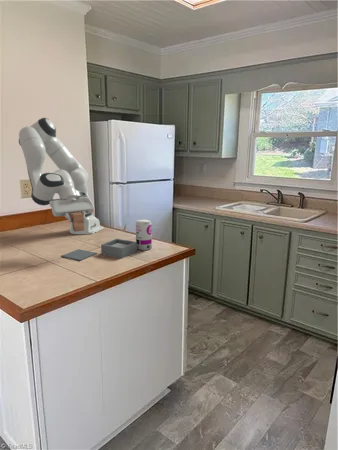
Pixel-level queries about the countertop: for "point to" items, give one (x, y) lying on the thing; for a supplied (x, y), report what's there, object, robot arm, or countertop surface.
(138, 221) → the supplement can
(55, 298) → the countertop surface
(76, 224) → the block
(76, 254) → the mat
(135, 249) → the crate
